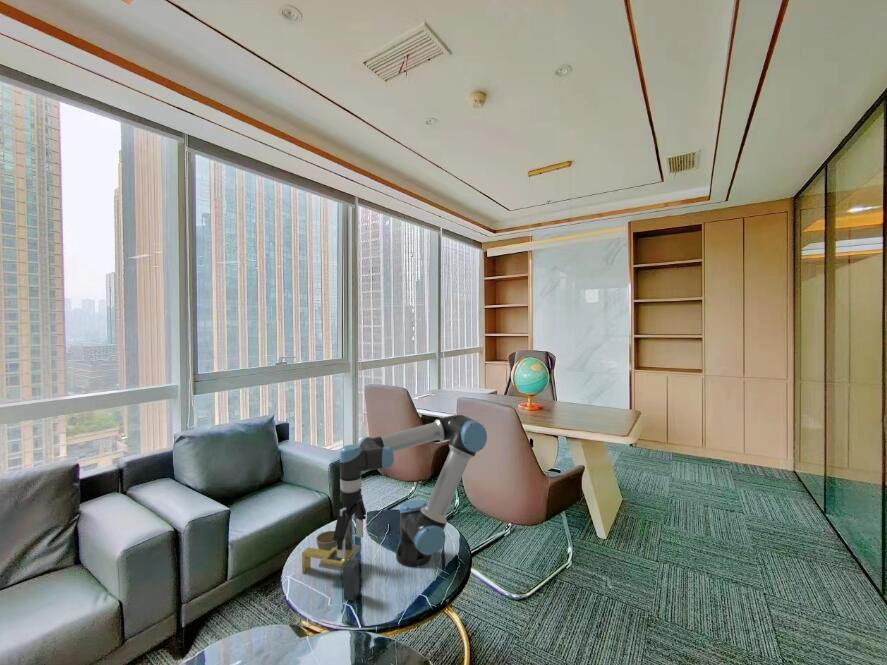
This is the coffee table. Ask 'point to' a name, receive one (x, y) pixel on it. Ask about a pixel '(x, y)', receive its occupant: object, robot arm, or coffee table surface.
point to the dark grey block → (351, 580)
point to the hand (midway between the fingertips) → (350, 546)
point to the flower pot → (326, 540)
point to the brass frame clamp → (331, 554)
